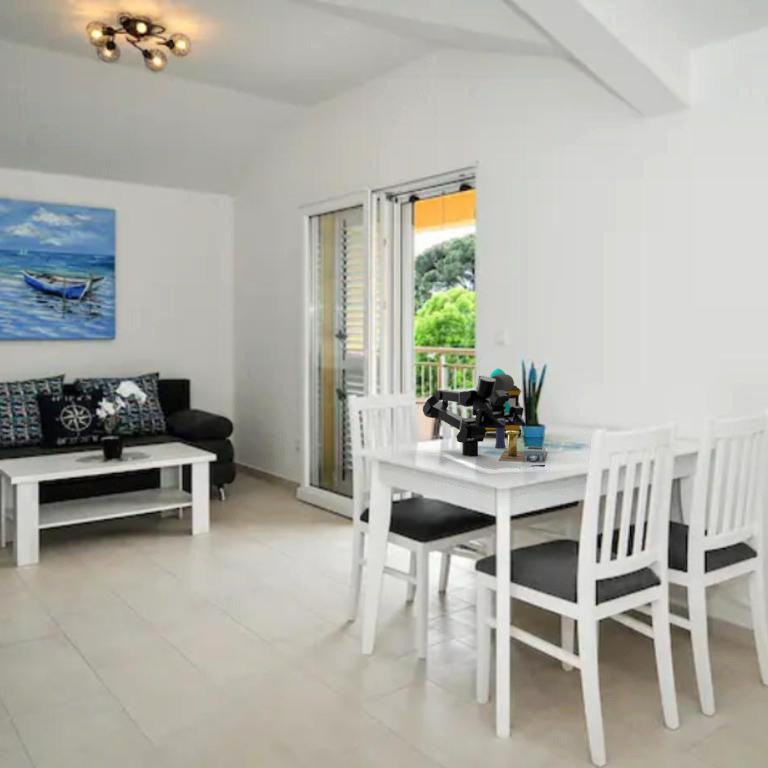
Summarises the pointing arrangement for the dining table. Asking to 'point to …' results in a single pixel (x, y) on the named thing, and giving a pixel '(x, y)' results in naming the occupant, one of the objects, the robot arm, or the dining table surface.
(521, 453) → the board
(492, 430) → the decorative lantern
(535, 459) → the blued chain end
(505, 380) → the rubber mallet
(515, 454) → the pin
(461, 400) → the robot arm
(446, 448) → the dining table surface
